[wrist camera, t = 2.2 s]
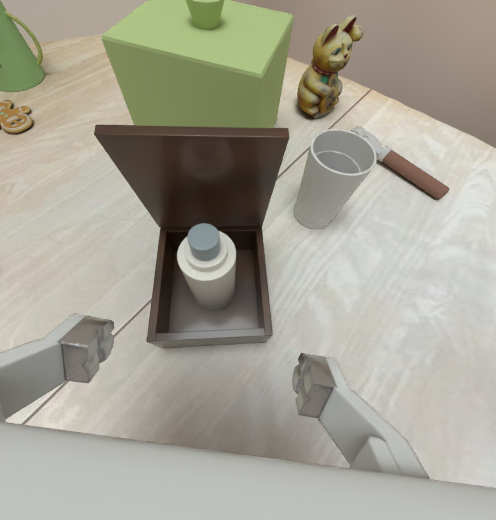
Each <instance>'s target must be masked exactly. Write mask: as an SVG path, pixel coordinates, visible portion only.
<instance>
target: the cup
mask: <svg viewBox="0 0 496 520" xmlns="http://www.w3.org/2000/svg"><path fill="white" fill-rule="evenodd" d="M376 162H377V155H376V151H375V149H374V148H373V146H372V145H371V144H370V143H369V142H368V141H367V140H366V139H365V138H363V137H362V136H360V135H358V134H356V133H354V132H351V131H347V130H343V129H329V130H325V131H322V132H320V133H318V134H317V135H316V136H315V137H314V138H313V139H312V141H311V145H310V149H309V153H308V157H307V162H306V166H305V170H304V174H303V178H302V182H301V186H300V190H299V194H298V197H297V201H296V204H295V207H294V215H295V217H296V219H297V220H298V222H299V223H301V224H302V225H303V226H305V227H308V228H311V229H321V228H324V227H326V226H327V225H328V224H329V223H330V222H331V220H332V219H333V217H334V216H335V215H336V214H337V212H338V211H339V210H340V209H341V207H342V206H343V205H344V204H345V202H346V201H347V200H348V199H349V197H350V196H351V195H352V193H353V192H354V191H355V190H356V188H357V187H358V186H359V185H360V184H361V182H362V181H363V180H364V179H365V177H366V176H367V175H368V174H369V173H370V171H371V170H372V169H373V168H374V166H375V165H376Z"/></svg>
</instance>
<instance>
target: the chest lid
mask: <svg viewBox="0 0 496 520" xmlns="http://www.w3.org/2000/svg"><path fill="white" fill-rule="evenodd" d="M94 135H95V136H96V138H97V139H98V141H99V142H100V143H101V145H102V146H103V148H104V149H105V151H106V152H107V153H108V155H109V156H110V158H111V159H112V161H113V162H114V163H115V165H116V166H117V168H118V169H119V170H120V172H121V173H122V175H123V176H124V178H125V179H126V180H127V182H128V183H129V185H130V186H131V188H132V189H133V190H134V192H135V193H136V195H137V196H138V197H139V199H140V200H141V202H142V203H143V205H144V206H145V207H146V209H147V210H148V212H149V213H150V215H151V216H152V217H153V219H154V220H155V222H156V223H157V225H158V226H159V227H194V226H195V225H198V224H202V223H206V224H210V225H212V226H262V224H263V221H264V218H265V215H266V211H267V208H268V205H269V202H270V198H271V195H272V192H273V189H274V185H275V182H276V179H277V176H278V172H279V169H280V166H281V163H282V159H283V156H284V153H285V150H286V146H287V143H288V140H289V131H288V128H242V127H190V126H137V125H96V126H95V132H94Z"/></svg>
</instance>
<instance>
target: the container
mask: <svg viewBox="0 0 496 520" xmlns="http://www.w3.org/2000/svg"><path fill="white" fill-rule="evenodd" d="M293 19H294V17H293V15H291V14H287V13H283V12H279V11H274V10H270V9H265V8H261V7H257V6H252V5H248V4H243V3H239V2H234V1H230V0H148V1H146V2H145V3H144V4H142V5H141V6H140V7H138V8H137V9H136V10H134V11H133V12H132V13H131V14H129V15H128V16H127V17H125V18H124V19H123V20H122V21H120V22H119V23H118V24H117V25H115V26H114V27H113V28H111V29H110V30H109V31H108V32H106V33H105V34H103V35H102V41H103V44H104V47H105V49H106V52H107V54H108V57H109V60H110V62H111V65H112V68H113V70H114V73H115V75H116V78H117V81H118V83H119V86H120V89H121V91H122V94H123V96H124V99H125V102H126V104H127V107H128V110H129V112H130V115H131V117H132V120H133V123H134V125H137V126H190V127H242V128H273V126H274V124H275V121H276V118H277V113H278V107H279V102H280V96H281V90H282V84H283V79H284V73H285V67H286V61H287V55H288V49H289V43H290V38H291V31H292V26H293Z"/></svg>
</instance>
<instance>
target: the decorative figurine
mask: <svg viewBox="0 0 496 520" xmlns="http://www.w3.org/2000/svg"><path fill="white" fill-rule="evenodd" d="M355 21H356V17H355V16H349V17H347V18H346V19H344V20H343V21H342V22H341V24H340V25H337V24H334V25H331V26H329V27H328V28H327V29H326V30H325V31H324V32H323V33H322V34H321V35H320V36H319V37H318V38H317V40H316V42H315V44H314V47H313V59H312V62H311V64H312V65H310V66H309V67H308V68H307V69H306V71H305V72H304V74H303V76H302V78H301V80H300V83H299V87H298V104H299V106H300V108H301V109H302V110H303V111H305V112H306V113H308V114H309V115H310V116H311V117H313V118H314V119H316V118H319V117H321V116H323V115H325V114H327V113H329V112H330V110H331V109H332V107H333V106H334V105H335V104H337V103H338V102H339V98H338V96H339V95H340V93H341V91H342V82H341V81H340V80H339V79H338V73H337V72H338V71H339V70H341V69H343V68H344V67H345V66H346V64H347V62H348V61H349V58H350V54H351V49H352V43H353V41H354V42H355V41H359V40H360V39H361V38H362V36H363V33H364V31H363V28H362V27H361V26H359V25H354V26H353V24H354V22H355Z"/></svg>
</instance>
